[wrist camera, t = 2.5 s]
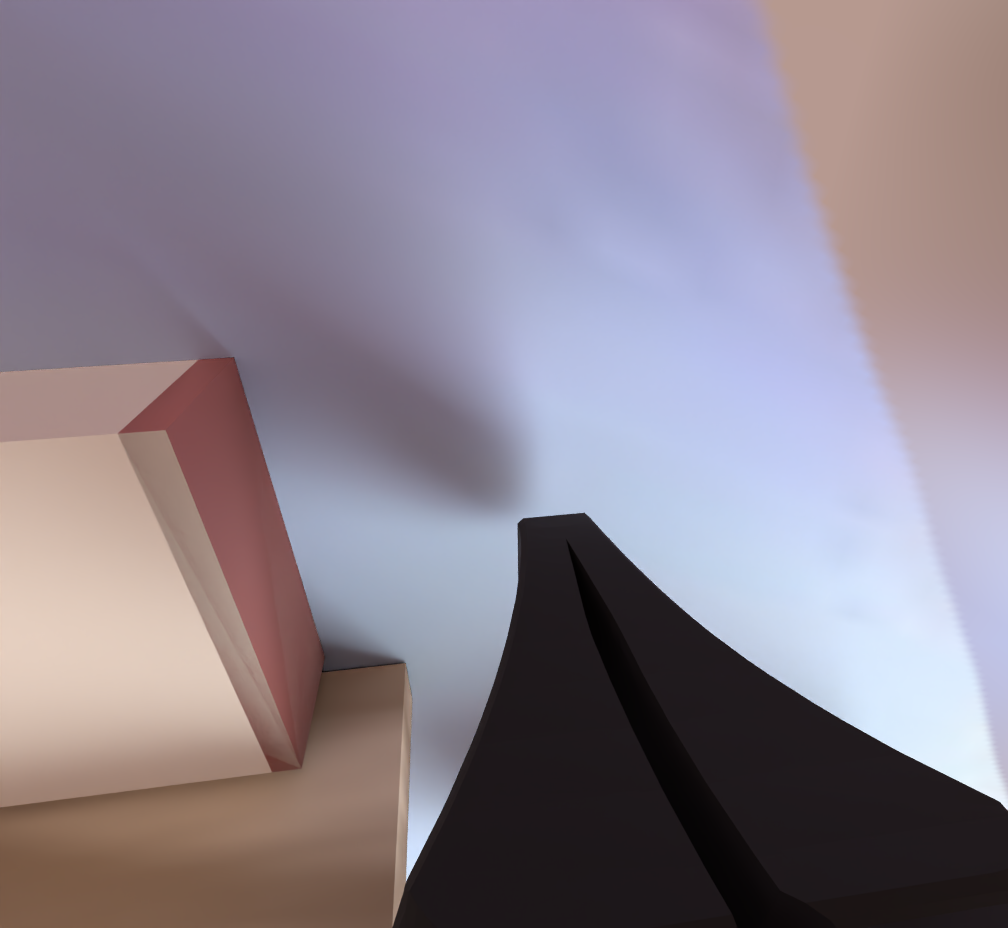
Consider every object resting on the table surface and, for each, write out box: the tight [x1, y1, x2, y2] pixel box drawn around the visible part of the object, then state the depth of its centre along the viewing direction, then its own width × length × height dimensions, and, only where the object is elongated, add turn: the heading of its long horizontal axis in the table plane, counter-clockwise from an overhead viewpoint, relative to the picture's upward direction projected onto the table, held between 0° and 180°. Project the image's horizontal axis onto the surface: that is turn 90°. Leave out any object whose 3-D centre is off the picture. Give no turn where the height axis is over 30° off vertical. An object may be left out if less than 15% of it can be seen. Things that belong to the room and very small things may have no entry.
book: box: [0, 357, 325, 807], centre depth 10 cm, size 8×7×3 cm
